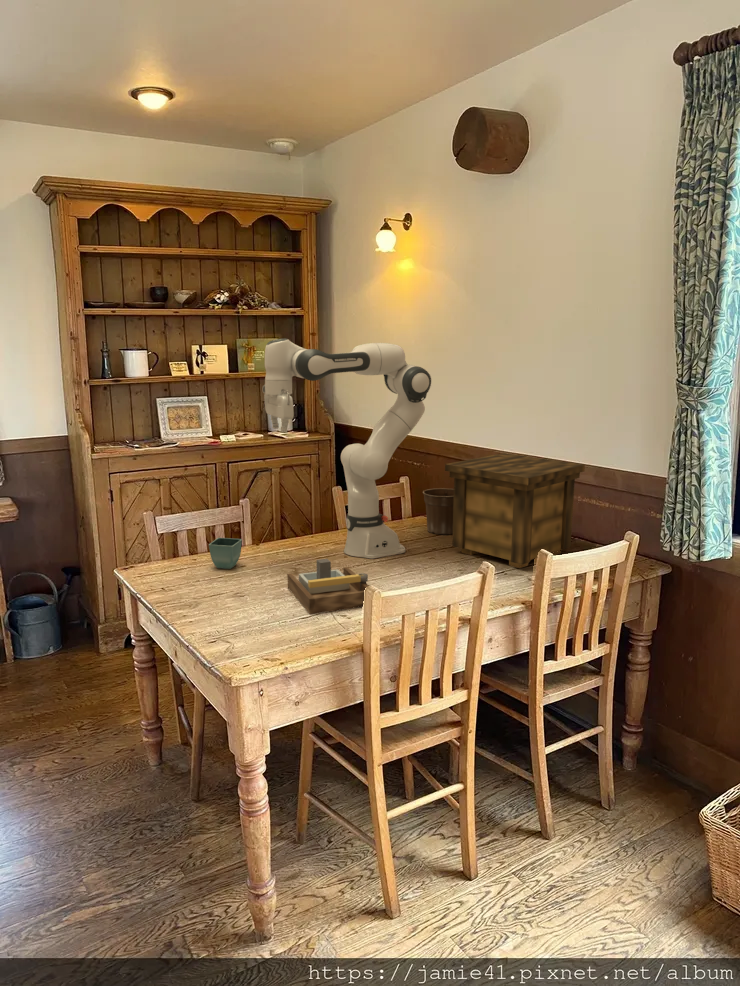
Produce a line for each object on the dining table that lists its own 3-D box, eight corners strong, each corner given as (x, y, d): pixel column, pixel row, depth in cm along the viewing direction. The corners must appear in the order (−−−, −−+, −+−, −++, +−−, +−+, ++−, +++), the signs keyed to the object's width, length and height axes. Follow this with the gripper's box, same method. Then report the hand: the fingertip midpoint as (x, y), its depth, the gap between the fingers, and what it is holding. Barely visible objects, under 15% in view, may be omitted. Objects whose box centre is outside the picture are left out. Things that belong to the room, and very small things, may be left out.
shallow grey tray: (337, 578, 243) (337, 553, 241) (349, 589, 233) (349, 563, 231) (298, 582, 238) (298, 558, 236) (308, 594, 228) (308, 568, 226)
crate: (443, 552, 275) (445, 464, 268) (500, 534, 299) (503, 453, 292) (523, 574, 251) (528, 478, 244) (579, 553, 275) (584, 464, 268)
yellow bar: (365, 578, 230) (365, 572, 230) (368, 581, 228) (368, 575, 227) (307, 585, 224) (307, 579, 223) (310, 588, 221) (310, 582, 221)
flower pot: (233, 571, 253) (232, 545, 251) (209, 570, 255) (208, 544, 253) (243, 563, 261) (242, 538, 259) (219, 562, 263) (218, 537, 261)
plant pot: (417, 526, 311) (418, 488, 307) (455, 525, 314) (456, 487, 310) (427, 537, 295) (428, 497, 292) (467, 535, 298) (468, 495, 295)
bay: (348, 580, 245) (348, 565, 244) (375, 605, 223) (375, 589, 222) (287, 587, 237) (287, 572, 236) (309, 614, 216) (309, 597, 215)
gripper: (298, 390, 242) (298, 433, 245) (278, 386, 260) (279, 426, 263) (279, 391, 240) (280, 434, 243) (260, 386, 258) (262, 427, 261)
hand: (279, 430), depth 253 cm, fingers open, 8 cm apart
